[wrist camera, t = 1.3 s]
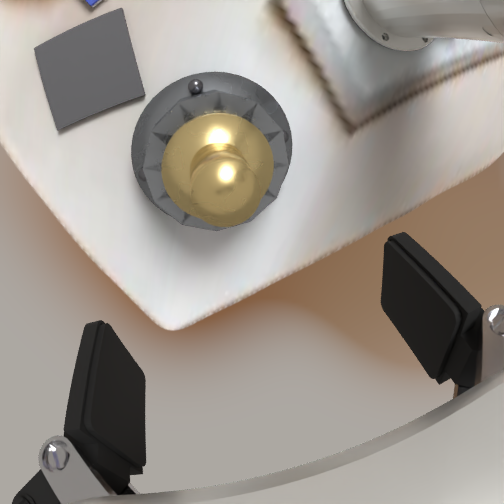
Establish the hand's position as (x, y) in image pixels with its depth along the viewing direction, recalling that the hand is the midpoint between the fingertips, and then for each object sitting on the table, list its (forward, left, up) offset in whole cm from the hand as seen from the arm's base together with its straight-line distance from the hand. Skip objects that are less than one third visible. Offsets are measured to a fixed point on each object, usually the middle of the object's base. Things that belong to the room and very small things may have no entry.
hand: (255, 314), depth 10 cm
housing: (0, 0, -23) cm, 23 cm away
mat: (+9, -11, -23) cm, 27 cm away
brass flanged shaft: (0, 0, -20) cm, 20 cm away
